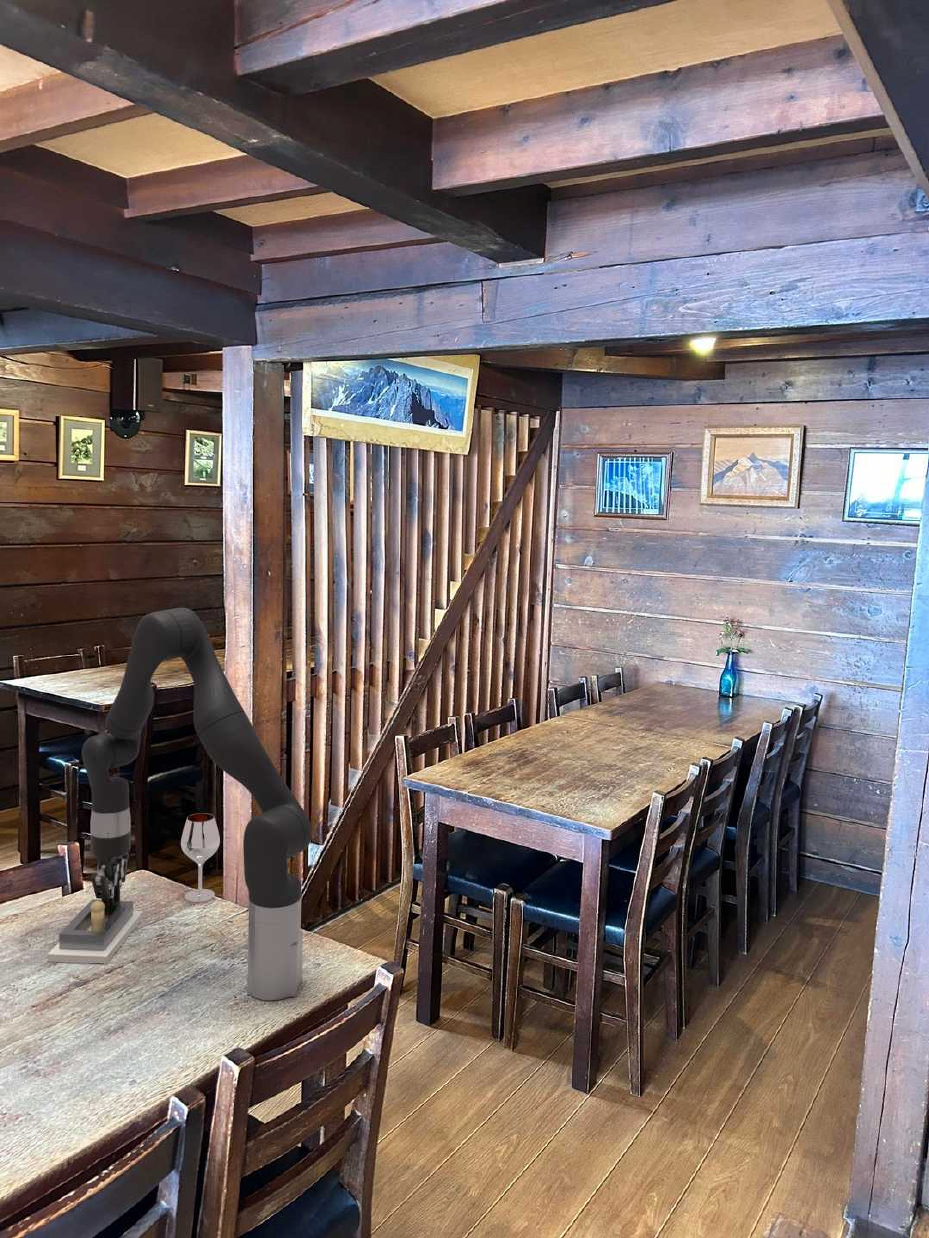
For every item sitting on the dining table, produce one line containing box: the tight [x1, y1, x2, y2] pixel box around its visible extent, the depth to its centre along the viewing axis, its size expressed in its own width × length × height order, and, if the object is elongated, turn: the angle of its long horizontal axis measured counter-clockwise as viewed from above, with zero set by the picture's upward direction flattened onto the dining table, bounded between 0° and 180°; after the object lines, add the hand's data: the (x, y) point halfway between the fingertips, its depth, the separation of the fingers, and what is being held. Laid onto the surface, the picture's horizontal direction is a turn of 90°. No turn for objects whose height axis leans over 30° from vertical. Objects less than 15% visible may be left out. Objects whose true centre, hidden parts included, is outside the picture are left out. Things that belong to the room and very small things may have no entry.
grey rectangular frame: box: [58, 899, 134, 951], centre depth 176 cm, size 15×8×3 cm, turn 0°
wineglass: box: [180, 812, 221, 903], centre depth 197 cm, size 8×8×18 cm
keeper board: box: [47, 901, 144, 965], centre depth 176 cm, size 11×19×8 cm, turn 0°
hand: (111, 910), depth 183 cm, fingers open, 3 cm apart
